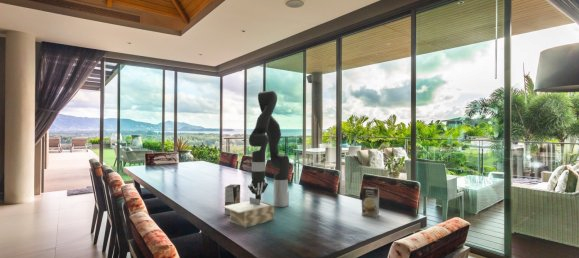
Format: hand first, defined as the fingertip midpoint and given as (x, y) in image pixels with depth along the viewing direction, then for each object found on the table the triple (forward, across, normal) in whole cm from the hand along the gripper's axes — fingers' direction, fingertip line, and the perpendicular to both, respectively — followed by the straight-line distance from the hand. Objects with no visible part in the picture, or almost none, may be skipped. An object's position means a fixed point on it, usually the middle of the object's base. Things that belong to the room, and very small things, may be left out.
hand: (258, 201), depth 163 cm
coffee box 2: (+10, -54, +38) cm, 66 cm away
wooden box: (+10, +4, 0) cm, 11 cm away
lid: (+2, +8, 0) cm, 8 cm away
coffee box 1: (+10, +3, -20) cm, 23 cm away
